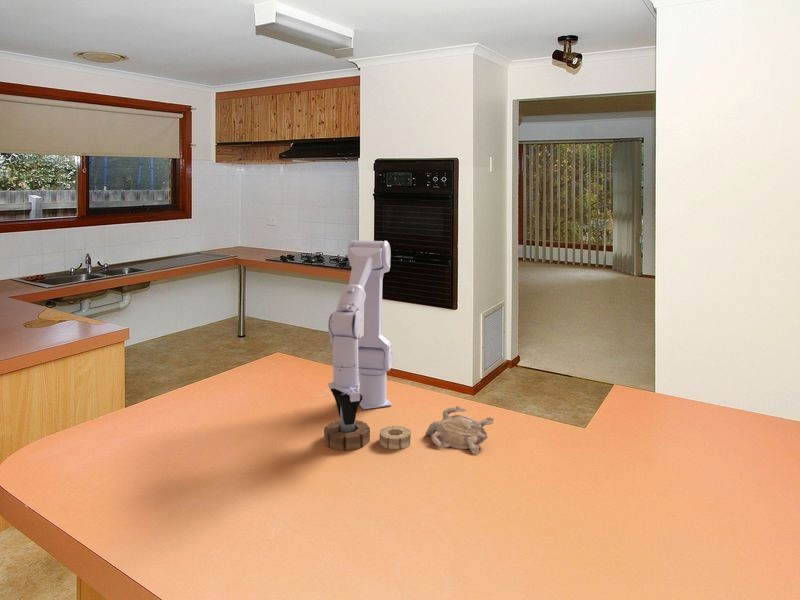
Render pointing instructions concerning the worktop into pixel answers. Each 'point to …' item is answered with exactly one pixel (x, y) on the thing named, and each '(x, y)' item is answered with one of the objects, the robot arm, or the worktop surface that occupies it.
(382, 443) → the beige notched ring
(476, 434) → the turtle
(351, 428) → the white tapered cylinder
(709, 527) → the worktop surface
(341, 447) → the brown segmented ring
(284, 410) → the worktop surface
